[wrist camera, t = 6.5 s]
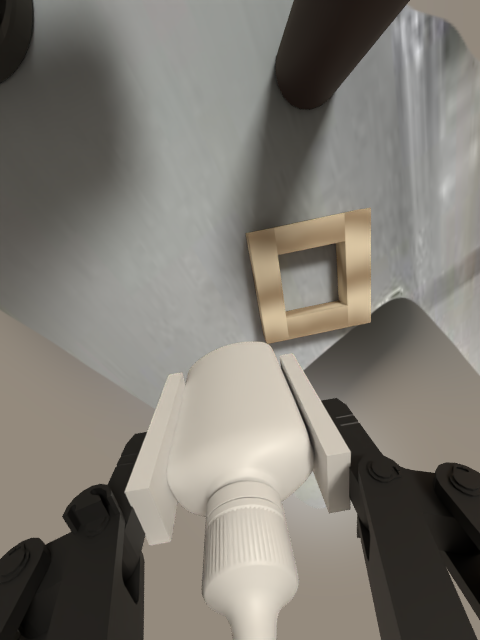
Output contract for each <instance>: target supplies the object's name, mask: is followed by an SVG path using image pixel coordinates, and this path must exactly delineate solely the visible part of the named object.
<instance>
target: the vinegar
mask: <svg viewBox="0 0 480 640" xmlns="http://www.w3.org/2000/svg"><path fill="white" fill-rule="evenodd" d="M409 1H410V0H294V2H293V5H292V8H291V11H290V14H289V18H288V21H287V24H286V27H285V30H284V33H283V37H282V40H281V43H280V46H279V50H278V53H277V56H276V78H277V83H278V87H279V89H280V91H281V93H282V95H283V97H284V98H285V99H286V100H287V101H288V102H289V103H290V104H291V105H293V106H295V107H297V108H299V109H313V108H316V107H318V106H321V105H322V104H323V103H325V102H326V101H327V100H328V99H330V97H331V96H332V95H333V94H334V92H335V91H336V90H337V89H338V88H339V86H340V85H341V84H342V83H343V81H344V80H345V79H346V78H347V77H348V75H349V74H350V73H351V72H352V70H353V69H354V68H355V67H356V66H357V64H358V63H359V62H360V61H361V59H362V58H363V57H364V56H365V55H366V53H367V52H368V51H369V50H370V48H371V47H372V46H373V45H374V44H375V42H376V41H377V40H378V39H379V37H380V36H381V35H382V34H383V33H384V31H385V30H386V29H387V28H388V26H389V25H390V24H391V23H392V22H393V20H394V19H395V18H396V17H397V15H398V14H399V13H400V12H401V11H402V9H403V8H404V7H405V6H406V4H407V3H408V2H409Z"/></svg>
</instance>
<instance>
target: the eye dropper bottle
mask: <svg viewBox="0 0 480 640" xmlns="http://www.w3.org/2000/svg"><path fill="white" fill-rule="evenodd" d="M314 461H315V460H314V453H313V449H312V445H311V442H310V439H309V436H308V433H307V430H306V427H305V425H304V422H303V420H302V417H301V415H300V412H299V410H298V407H297V405H296V402H295V400H294V398H293V395H292V393H291V391H290V388H289V386H288V384H287V381H286V379H285V377H284V374H283V372H282V370H281V367H280V365H279V363H278V360H277V358H276V356H275V354H274V351H273V349H272V348H271V346H270V345H269V344H266V343H264V342H241V343H235V344H230V345H227V346H224V347H221V348H218V349H216V350H214V351H212V352H210V353H208V354H207V355H205V356H204V357H202V358H201V359H199V360H198V361H197V362H196V363H195V364H194V365H193V366H192V367H191V368H190V370H189V372H188V375H187V380H186V386H185V390H184V394H183V398H182V402H181V406H180V411H179V415H178V419H177V423H176V428H175V432H174V436H173V440H172V445H171V449H170V454H169V459H168V464H167V470H166V475H167V482H168V485H169V487H170V489H171V491H172V493H173V494H174V496H175V498H176V499H177V501H178V502H179V503H180V505H181V506H182V507H183V508H184V509H186V510H188V511H189V512H190V513H193V514H196V515H199V516H204V517H206V525H205V542H204V560H203V577H202V595H203V598H204V600H205V602H206V604H207V605H208V606H209V607H210V608H211V609H212V610H213V611H215V612H217V613H219V614H221V615H223V616H225V617H226V618H227V620H228V622H229V624H230V626H231V630H232V636H233V640H277V635H276V633H277V617H278V614H279V611H280V609H281V608H283V607H284V606H285V605H286V604H288V602H290V601H291V599H292V598H293V597H294V595H295V594H296V591H297V589H298V585H299V577H298V572H297V568H296V563H295V559H294V554H293V549H292V545H291V541H290V536H289V531H288V527H287V522H286V518H285V513H284V509H283V504H282V501H284V500H285V499H286V498H287V497H289V496H290V495H291V494H292V493H293V492H295V491H296V490H297V489H298V488H299V487H300V486H301V485H302V484H303V483H304V482H305V481H306V479H307V478H308V477H309V475H310V474H311V472H312V470H313V467H314Z"/></svg>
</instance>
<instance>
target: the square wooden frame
mask: <svg viewBox="0 0 480 640" xmlns="http://www.w3.org/2000/svg"><path fill="white" fill-rule="evenodd" d="M246 238H247V244H248V250H249V255H250V261H251V267H252V272H253V278H254V284H255V289H256V295H257V301H258V306H259V312H260V318H261V324H262V329H263V335H264V338H265V341H266V343H267V344H269V343H274V342H279V341H284V340H289V339H293V338H298V337H303V336H308V335H312V334H317V333H322V332H327V331H332V330H336V329H341V328H346V327H351V326H355V325H360V324H365V323H369V322H371V208H366V209H359V210H354V211H350V212H345V213H340V214H335V215H330V216H326V217H321V218H316V219H311V220H307V221H302V222H297V223H292V224H287V225H283V226H278V227H273V228H268V229H264V230H259V231H254V232H249V233H246ZM333 243H336V255H337V275H338V296H339V300H338V301H333V302H329V303H324V304H319V305H314V306H310V307H305V308H300V309H295V310H290V311H286V312H285V305H284V298H283V290H282V283H281V275H280V268H279V261H278V255H281V254H286V253H290V252H295V251H300V250H305V249H310V248H314V247H319V246H324V245H329V244H333Z"/></svg>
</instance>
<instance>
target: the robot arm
mask: <svg viewBox="0 0 480 640" xmlns="http://www.w3.org/2000/svg"><path fill="white" fill-rule="evenodd" d="M32 22H33V8H32V0H0V83H1V82H3V81H4V80H6V79H7V78H8V77H9V76H11V75H12V74H13V73H14V72H15V70H16V69H17V68H18V66H19V65H20V63H21V62H22V60H23V58H24V56H25V54H26V51H27V48H28V45H29V42H30V37H31V31H32ZM280 363H281V370H282V372H283V374H284V377H285V379H286V381H287V384H288V386H289V388H290V391H291V393H292V395H293V398H294V400H295V402H296V405H297V407H298V410H299V412H300V415H301V417H302V420H303V422H304V425H305V427H306V430H307V433H308V436H309V439H310V442H311V445H312V449H313V453H314V460H315V461H314V467H313V472H314V475H315V478H316V480H317V483H318V485H319V488H320V491H321V493H322V496H323V499H324V501H325V504H326V506H327V509H328V512H329V513H333V512H339V511H344V510H350V499H351V501H352V503H353V506H354V508H355V510H356V512H357V538H361V543H362V548H363V553H364V558H365V563H366V568H367V572H368V577H369V582H370V587H371V592H372V597H373V602H374V606H375V612H376V616H377V621H378V626H379V631H380V636H381V640H477V637H476V635H475V633H474V630H473V628H472V626H471V624H470V621H469V619H468V617H467V614H466V612H465V610H464V607H463V605H462V603H461V601H460V598H459V596H458V594H457V591H456V589H455V587H454V584H453V582H452V580H451V578H450V575H449V573H448V571H449V572H450V574H451V576H452V577H453V579H454V580H455V582H456V583H457V585H458V586H459V588H460V589H461V591H462V593H463V594H464V596H465V597H466V599H467V601H468V602H469V604H470V605H471V607H472V609H473V610H474V612H475V613H476V615H477V616H478V618H479V620H480V473H479V472H477V471H475V470H473V469H471V468H469V467H467V466H464V465H461V464H457V463H443V464H441V465H439V466H438V467H437V469H436V471H435V473H431V472H423V471H415V470H410V469H405V468H403V467H400V466H399V465H398V464H397V463H395V462H394V461H393V460H391V459H389V458H387V457H385V456H383V454H382V453H381V452H380V451H379V449H378V448H377V447H376V445H375V444H374V443H373V441H372V440H371V438H370V437H369V436H368V434H367V433H366V431H365V430H364V429H363V427H362V426H361V424H360V423H358V420H357V419H356V418H355V416H353V413H352V412H351V411H350V409H349V408H348V407H347V405H346V404H344V403H343V402H341V401H340V400H338V399H337V398H335V399H328V400H323V401H321V400H320V399H319V397H318V395H317V394H316V392H315V390H314V389H313V387H312V385H311V383H310V382H309V380H308V378H307V377H306V375H305V373H304V372H303V370H302V368H301V366H300V365H299V363H298V361H297V360H296V358H295V356H294V355H293V353H292V354H286V355H280ZM185 386H186V384H185V381H184V377H183V373H182V372H181V373H176V374H170V375H169V376H168V378H167V381H166V384H165V386H164V389H163V392H162V394H161V397H160V400H159V402H158V405H157V407H156V410H155V413H154V415H153V418H152V421H151V423H150V426H149V429H148V431H147V432H144V433H138V434H135V435H134V436H133V437H132V438H131V439H130V440H129V442H128V443H127V444H126V446H125V448H124V450H123V452H122V454H121V458H120V459H119V461H118V463H117V467H116V468H115V470H114V472H113V474H112V476H111V478H110V481H109V483H108V485H104V484H98V485H94V486H91V487H89V488H88V489H86V490H84V491H83V492H81V493H80V494H79V495H78V496H76V497H75V498H74V499H73V500H72V502H71V503H70V504H69V505H68V507H67V508H66V510H65V512H64V514H63V516H62V517H63V519H64V520H65V522H66V523H67V525H68V527H69V528H70V529H71V531H72V532H70V533H68V534H66V535H64V536H62V537H60V538H58V539H56V540H54V541H52V542H50V543H48V544H46V545H45V544H44V543H43V541H42V540H41V539H40V538H30V539H27V540H25V541H22V542H21V543H19V544H18V545H16V546H15V547H13V548H12V549H10V550H9V551H8V552H7V553H6V554H5V555H4V556H3V557H2V558H1V559H0V640H143V635H144V633H143V632H144V631H143V630H144V557H143V553H142V551H141V550H142V546H143V542H144V538H145V537H146V539H147V541H148V543H149V545H150V546H151V545H156V544H162V543H167V542H171V540H172V534H173V528H174V522H175V515H176V510H177V504H178V501H177V499H176V498H175V496H174V494H173V493H172V491H171V489H170V487H169V485H168V482H167V475H166V470H167V464H168V459H169V454H170V449H171V445H172V440H173V436H174V432H175V428H176V423H177V419H178V415H179V411H180V406H181V402H182V398H183V394H184V390H185ZM447 569H448V571H447Z"/></svg>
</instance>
